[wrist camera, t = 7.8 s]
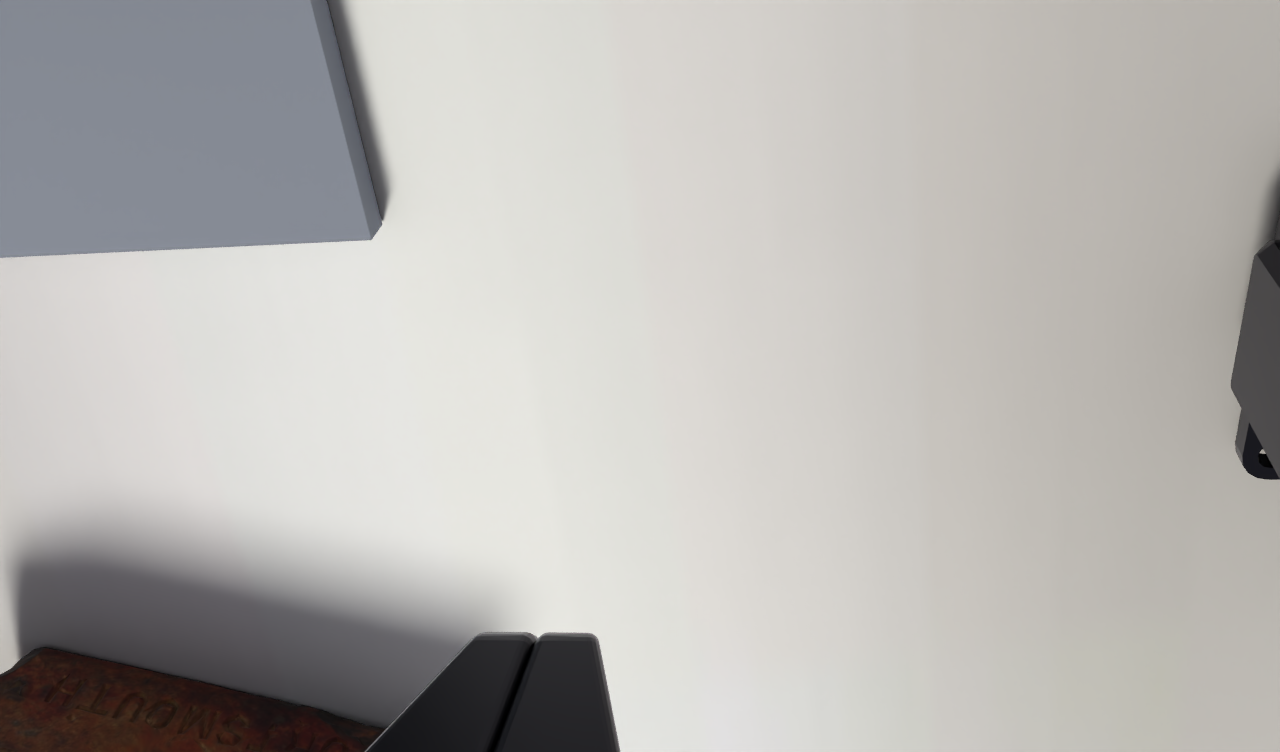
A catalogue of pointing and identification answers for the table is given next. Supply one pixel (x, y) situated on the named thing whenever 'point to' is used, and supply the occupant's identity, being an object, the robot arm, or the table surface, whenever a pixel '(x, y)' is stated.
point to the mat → (176, 127)
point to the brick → (153, 713)
